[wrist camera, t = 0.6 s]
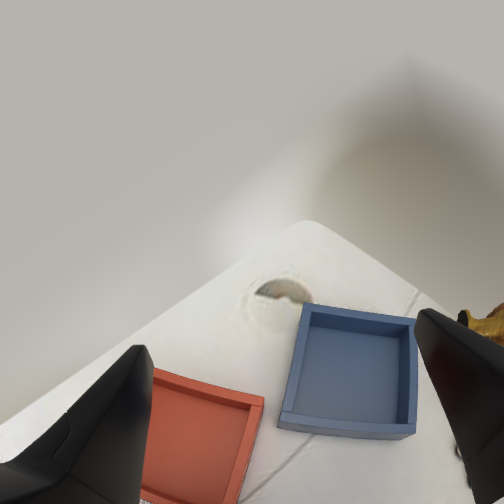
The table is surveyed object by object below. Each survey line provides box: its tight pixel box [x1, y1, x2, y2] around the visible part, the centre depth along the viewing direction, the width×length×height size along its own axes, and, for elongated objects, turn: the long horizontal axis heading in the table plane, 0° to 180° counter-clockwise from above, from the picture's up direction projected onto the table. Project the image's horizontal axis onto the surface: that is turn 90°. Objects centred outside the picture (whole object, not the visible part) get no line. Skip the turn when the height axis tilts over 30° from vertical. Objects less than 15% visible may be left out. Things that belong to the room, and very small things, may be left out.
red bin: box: [140, 367, 264, 504], centre depth 19 cm, size 11×11×3 cm
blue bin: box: [277, 302, 418, 440], centre depth 22 cm, size 11×11×3 cm
